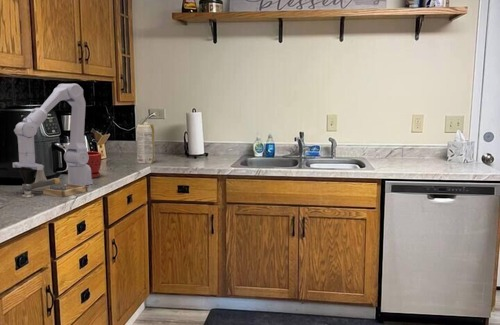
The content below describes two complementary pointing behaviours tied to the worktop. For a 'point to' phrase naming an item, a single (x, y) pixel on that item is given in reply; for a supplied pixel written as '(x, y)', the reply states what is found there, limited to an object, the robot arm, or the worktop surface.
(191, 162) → the worktop surface
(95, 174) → the plant pot
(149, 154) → the juice carton
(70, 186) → the bay
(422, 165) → the worktop surface
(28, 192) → the lever post
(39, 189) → the flask
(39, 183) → the lever
